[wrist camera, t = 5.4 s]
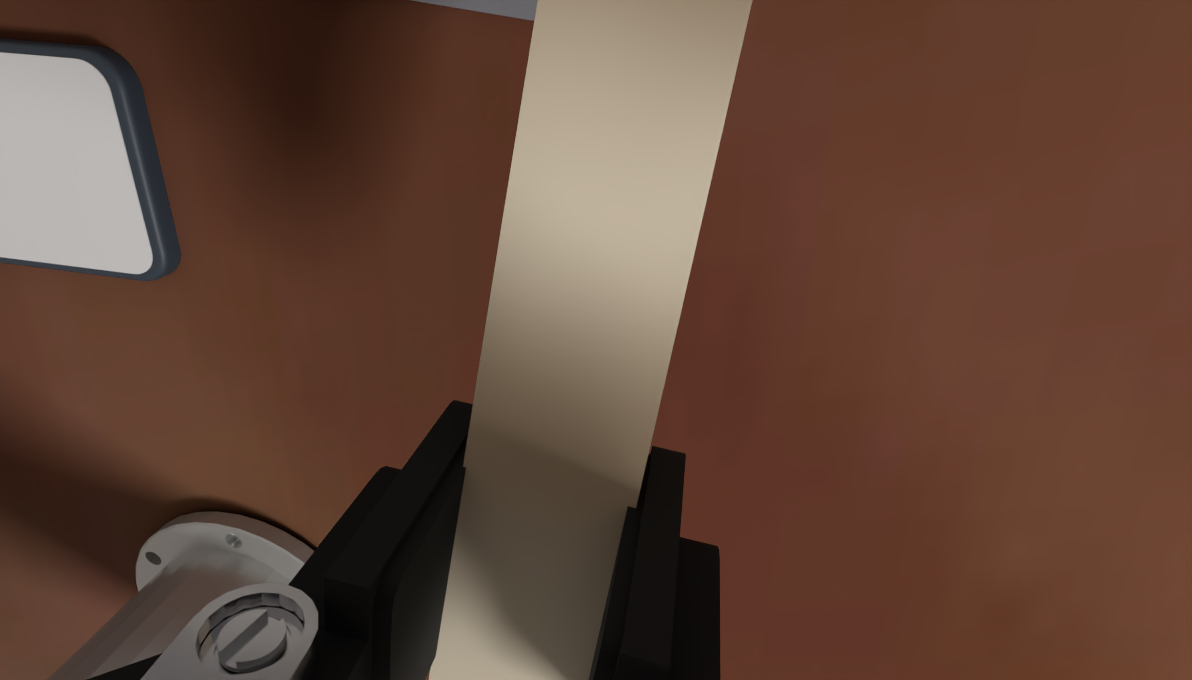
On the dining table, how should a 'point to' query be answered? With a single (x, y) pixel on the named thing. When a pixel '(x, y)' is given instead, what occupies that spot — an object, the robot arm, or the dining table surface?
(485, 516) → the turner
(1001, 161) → the dining table surface
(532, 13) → the mat
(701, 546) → the robot arm
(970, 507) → the dining table surface
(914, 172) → the dining table surface
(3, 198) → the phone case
